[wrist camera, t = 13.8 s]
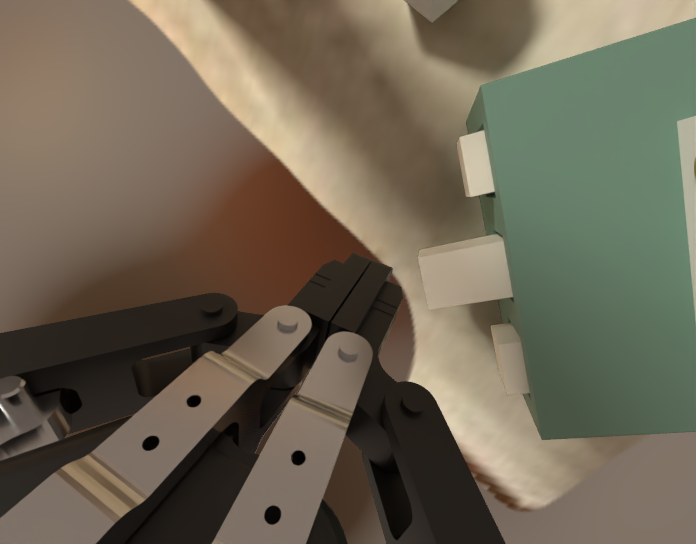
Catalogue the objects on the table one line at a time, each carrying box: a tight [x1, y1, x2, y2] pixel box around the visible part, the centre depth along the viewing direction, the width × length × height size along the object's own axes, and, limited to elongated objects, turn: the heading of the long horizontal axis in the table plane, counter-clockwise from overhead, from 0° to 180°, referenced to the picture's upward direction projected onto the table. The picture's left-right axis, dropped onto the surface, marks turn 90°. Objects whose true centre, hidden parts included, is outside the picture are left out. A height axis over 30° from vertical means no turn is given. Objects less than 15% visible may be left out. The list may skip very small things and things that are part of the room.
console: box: [466, 18, 696, 440], centre depth 23 cm, size 22×10×16 cm, turn 14°
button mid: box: [418, 234, 513, 310], centre depth 26 cm, size 4×6×4 cm, turn 104°
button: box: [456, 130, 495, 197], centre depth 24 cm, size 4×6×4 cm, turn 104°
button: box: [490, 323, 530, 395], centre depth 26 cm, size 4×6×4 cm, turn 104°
